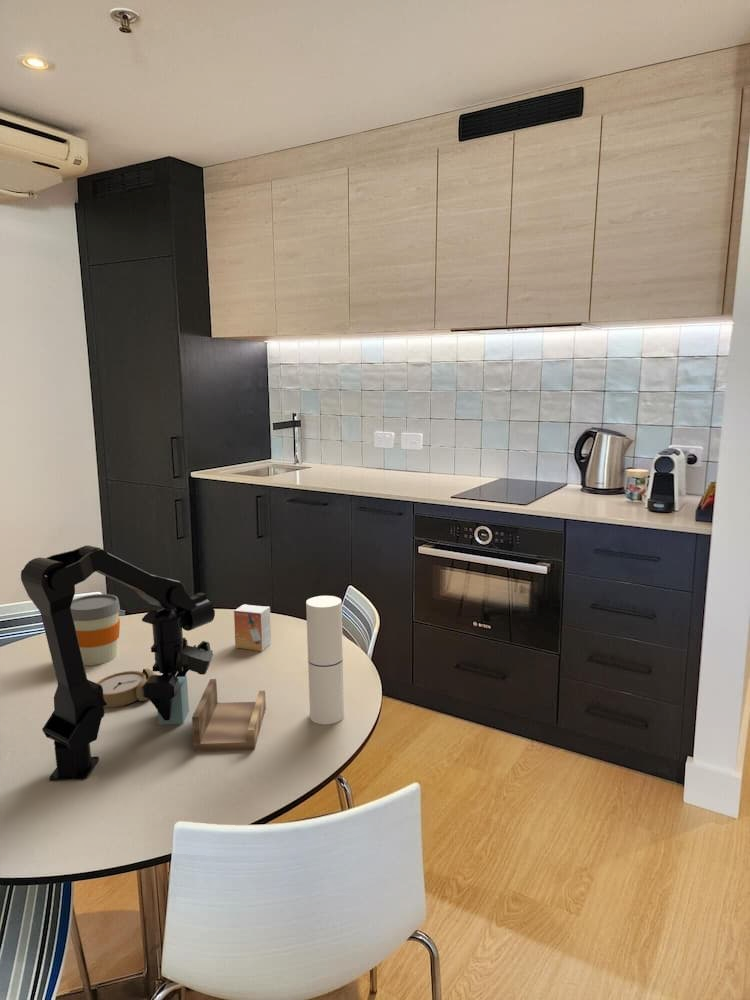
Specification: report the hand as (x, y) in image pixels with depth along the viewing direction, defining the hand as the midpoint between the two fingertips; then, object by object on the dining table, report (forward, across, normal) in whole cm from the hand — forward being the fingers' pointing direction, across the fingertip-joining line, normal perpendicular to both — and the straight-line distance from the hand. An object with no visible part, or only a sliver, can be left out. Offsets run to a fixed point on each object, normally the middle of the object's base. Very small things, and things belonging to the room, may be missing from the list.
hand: (173, 708), depth 135 cm
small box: (+2, +37, -11) cm, 39 cm away
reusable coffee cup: (+2, +32, +28) cm, 43 cm away
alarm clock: (+2, +11, +13) cm, 17 cm away
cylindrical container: (+2, -1, -32) cm, 32 cm away
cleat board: (+2, -5, -13) cm, 14 cm away
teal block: (+2, 0, 0) cm, 2 cm away
